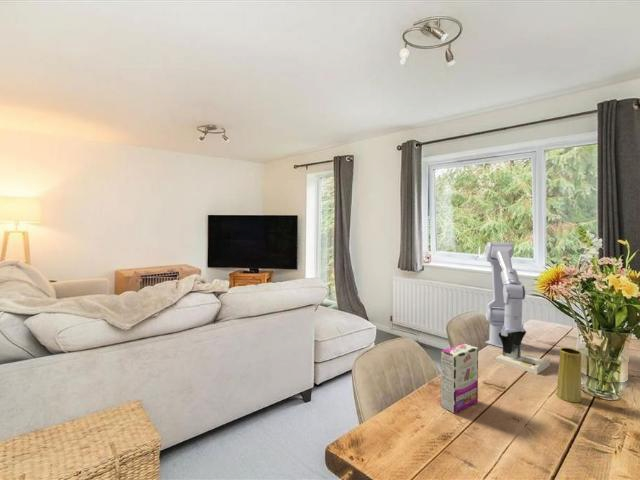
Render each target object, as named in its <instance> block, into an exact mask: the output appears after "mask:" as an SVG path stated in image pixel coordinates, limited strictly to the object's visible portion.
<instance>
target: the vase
mask: <svg viewBox="0 0 640 480" xmlns="http://www.w3.org/2000/svg"><path fill="white" fill-rule="evenodd" d="M558 365H559V366H558V370H557V373H558V374H557V381H556V382H557V384H556V385H557V387H556V396H557V398H560V399H561V400H562V401H566V402H570V403H580V402H581V401H582V352H581V351H580V350H578V349H575V348H572V347H571V348H570V347H561V348H560V349H559V364H558Z"/></svg>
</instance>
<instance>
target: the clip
mask: <svg viewBox="0 0 640 480" xmlns="http://www.w3.org/2000/svg"><path fill="white" fill-rule="evenodd" d="M521 353H522V346H521V345H520V346H517V345H514V344H513V347H512V352H511V354H508V353H505V352H504V348H502V353H501V354H502V355H503V356H506V357H510V358H513V359H518V357H519V358H520V357H521Z"/></svg>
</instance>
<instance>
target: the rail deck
mask: <svg viewBox="0 0 640 480" xmlns="http://www.w3.org/2000/svg"><path fill="white" fill-rule="evenodd" d="M495 362H497V363H500V364H504V365H506V366H510V367H512V368H516V369H519V370H522V371H526V372H529V373H531V374H535V375H538V374H540V373H541V372H543V371H544V370H545V369H547V368H548V367H550V366H551V358H549V357H546V358H544V359H543V358H540V357H536V356H532V355H529V354H525V353H522V352H521V357H520V358H519V357H518V359H513V358H510V357H506V356H503V355H502V353H501V354H499V355H497V356H496V357H495ZM533 364H534V365H533Z"/></svg>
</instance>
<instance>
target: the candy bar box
mask: <svg viewBox="0 0 640 480" xmlns="http://www.w3.org/2000/svg"><path fill="white" fill-rule="evenodd" d="M478 385H479V347H477V346H474V345H472V344H471V345H470V344H468V343H462V344H458V345H455V346H451V347H449V348H447V349H443V350H440V407H441V408H443V409H444V410H447V411H448V412H450V413H451V414H454V415H456V414H458V413H460V412H462V411H464V410H466V409H468V408H470V407H471V406H473V405H475V404H478V401H479V400H478V398H479V396H478V394H479V386H478Z"/></svg>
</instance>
